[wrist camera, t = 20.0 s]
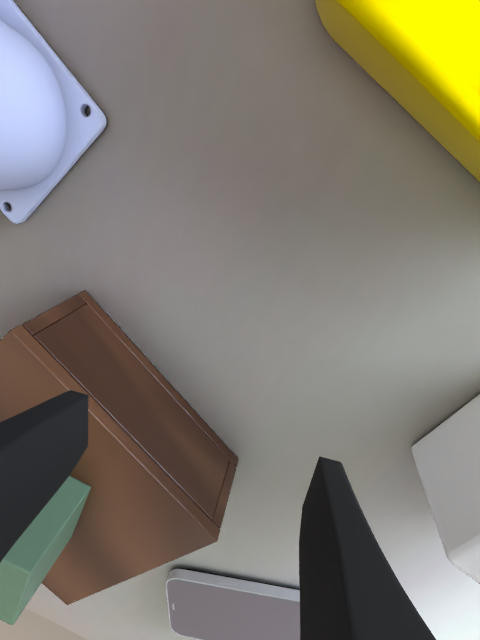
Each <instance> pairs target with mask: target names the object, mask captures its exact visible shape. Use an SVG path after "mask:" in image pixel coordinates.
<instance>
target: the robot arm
mask: <svg viewBox="0 0 480 640" xmlns="http://www.w3.org/2000/svg"><path fill="white" fill-rule="evenodd" d="M87 106H89V107H90V109H91V114H90V116H88V117H87V115H86V114H85V109H86V107H87ZM106 122H107V121H106V117H105V115H104V113H103V112H102V111H101V109H100V108H99V107H98V106H97V104H96V103H95V102H94V101H93V100H92V98H91V97H90V96H89V95H88V93H87V92H86V91H85V90H84V88H83V87H82V86H81V85H80V83H79V82H78V81H77V80H76V78H75V77H74V76H73V75H72V73H71V72H70V71H69V70H68V68H67V67H66V66H65V65H64V64H63V62H62V61H61V60H60V59H59V57H58V56H57V55H56V54H55V52H54V51H53V50H52V49H51V47H50V46H49V45H48V44H47V42H46V41H45V40H44V39H43V37H42V36H41V35H40V34H39V32H38V31H37V30H36V29H35V28H34V26H33V25H32V24H31V23H30V21H29V20H28V19H27V18H26V16H25V15H24V14H23V13H22V11H21V10H20V9H19V8H18V6H17V5H16V4H15V3H14V1H13V0H0V210H1V211H2V212H3V213H4V215H5V216H6V217H7V218H8V219H9V220H10V221H11V222H13V223H15V224H19V223H23V222H25V221H26V220H27V218H28V217H29V216H30V215H31V214H32V213H33V211H34V210H35V209H36V208H37V207H38V206H39V205H40V203H41V202H42V201H43V200H44V199H45V198H46V196H47V195H48V194H49V193H50V192H51V191H52V189H53V188H54V187H55V186H56V185H57V184H58V182H59V181H60V180H61V179H62V178H63V177H64V175H65V174H66V173H67V172H68V171H69V170H70V169H71V167H72V166H73V165H74V164H75V163H76V162H77V160H78V159H79V158H80V157H81V156H82V155H83V153H84V152H85V151H86V150H87V149H88V148H89V146H90V145H91V144H92V143H93V142H94V141H95V139H96V138H97V137H98V136H99V135H100V134H101V133H102V131H103V130H104V129H105V127H106ZM8 203H9V204H10V205H11V208H12V209H11V210H10V209H9V207H8ZM88 402H89V395H87V394H84V393H80V392H76V391H72V390H69V391H67V392H64V393H62V394H60V395H58V396H56V397H53V398H51V399H49V400H47V401H45V402H43V403H41V404H39V405H36V406H34V407H32V408H30V409H28V410H26V411H24V412H22V413H19V414H17V415H15V416H13V417H11V418H9V419H6V420H4V421H2V422H0V563H1V561H2V560H3V558H4V557H5V556H6V554H7V553H8V552H9V550H10V549H11V548H12V546H13V545H14V544H15V542H16V541H17V540H18V539H19V537H20V536H21V535H22V534H23V533H24V531H25V530H26V529H27V528H28V526H29V525H30V524H31V523H32V521H33V520H34V519H35V518H36V517H37V515H38V514H39V513H40V512H41V510H42V509H43V508H44V507H45V506H46V504H47V503H48V502H49V501H50V499H51V498H52V497H53V496H54V494H55V493H56V492H57V491H58V489H59V488H60V487H61V486H62V484H63V483H64V482H65V481H66V479H67V478H68V477H69V476H70V474H71V472H72V471H73V469H74V468H75V466H76V465H77V463H78V462H79V460H80V458H81V457H82V455H83V453H84V452H85V450H86V448H87V447H88ZM299 576H300V640H436V639H435V637H434V636H433V634H432V633H431V631H430V630H429V628H428V627H427V625H426V624H425V622H424V621H423V619H422V618H421V616H420V615H419V613H418V612H417V610H416V609H415V607H414V605H413V604H412V602H411V601H410V599H409V597H408V596H407V594H406V593H405V591H404V589H403V588H402V586H401V584H400V583H399V581H398V579H397V577H396V576H395V574H394V572H393V570H392V569H391V567H390V565H389V563H388V561H387V560H386V558H385V556H384V554H383V552H382V550H381V548H380V547H379V545H378V543H377V541H376V539H375V537H374V535H373V533H372V531H371V529H370V527H369V525H368V523H367V520H366V518H365V516H364V514H363V512H362V510H361V508H360V506H359V503H358V501H357V499H356V497H355V494H354V492H353V490H352V487H351V485H350V482H349V480H348V478H347V475H346V473H345V470H344V467H343V465H342V464H341V462H338V461H334V460H330V459H327V458H323V457H319V459H318V462H317V465H316V468H315V471H314V474H313V477H312V480H311V483H310V486H309V489H308V492H307V495H306V498H305V501H304V504H303V508H302V518H301V528H300V539H299Z"/></svg>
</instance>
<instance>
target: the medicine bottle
mask: <svg viewBox="0 0 480 640" xmlns="http://www.w3.org/2000/svg"><path fill="white" fill-rule="evenodd" d="M412 454H413V457H414V460H415V463H416V466H417V469H418V472H419V475H420V478H421V481H422V484H423V487H424V490H425V493H426V496H427V499H428V502H429V505H430V508H431V511H432V514H433V517H434V520H435V523H436V526H437V529H438V532H439V535H440V538H441V541H442V544H443V547H444V550H445V553H446V556H447V558H448V560H449V561H450V563H451V564H452V565H454V566H455V567H457V568H458V569H459V570H461V571H462V572H464V573H465V574H467V575H468V576H469V577H471V578H472V579H474V580H475V581H476V582H478V583H479V584H480V394H479V395H478V396H477V397H475V398H474V399H473V400H471V401H470V402H469V403H467V404H466V405H465V406H464V407H462V408H461V409H460V410H458V411H457V412H456V413H455V414H453V415H452V416H451V417H449V418H448V419H447V420H445V421H444V422H443V423H442V424H440V425H439V426H438V427H436V428H435V429H434V430H433V431H431V432H430V433H429V434H427V435H426V436H425V437H423V438H422V439H421V440H420V441H418V442H417V443H416V444H414V445H413V447H412Z"/></svg>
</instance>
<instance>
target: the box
mask: <svg viewBox="0 0 480 640" xmlns="http://www.w3.org/2000/svg"><path fill="white" fill-rule="evenodd" d="M22 326H23V327H24V328H25V329H26V330H27V331H28V332H29V333H30V334H31V335H32V336H33V337H34V338H35V339H36V340H37V341H38V343H39V344H40V345H41V346H42V347H43V348H44V349H45V350H46V351H47V352H48V353H49V354H50V355H51V356H52V357H53V358H54V359H55V360H56V361H57V362H58V363H59V364H60V365H61V366H62V367H63V368H64V369H65V370H66V371H67V372H68V373H69V374H70V376H71V377H72V378H73V379H74V380H75V381H76V382H77V383H78V384H79V385H80V386H81V387H82V388H83V389H84V390H85V391H86V392H87V393H88V394H89V395H90V396H91V397H92V398H93V399H94V400H95V401H96V402H97V403H98V404H99V405H100V406H101V407H102V408H103V410H104V411H105V412H106V413H107V414H108V415H109V416H110V417H111V418H112V419H113V420H114V421H115V422H116V423H117V424H118V425H119V426H120V427H121V428H122V429H123V430H124V431H125V432H126V433H127V434H128V435H129V436H130V437H131V438H132V439H133V440H134V441H135V443H136V444H137V445H138V446H139V447H140V448H141V449H142V450H143V451H144V452H145V453H146V454H147V455H148V456H149V457H150V458H151V459H152V460H153V461H154V462H155V463H156V464H157V465H158V466H159V467H160V468H161V469H162V470H163V471H164V472H165V473H166V474H167V476H168V477H169V478H170V479H171V480H172V481H173V482H174V483H175V484H176V485H177V486H178V487H179V488H180V489H181V490H182V491H183V492H184V493H185V494H186V495H187V496H188V497H189V498H190V499H191V500H192V501H193V502H194V503H195V504H196V505H197V506H198V507H199V509H200V510H201V511H202V512H203V513H204V514H205V515H206V516H207V517H208V518H209V519H210V520H211V521H212V522H213V523H214V524H215V525H216V526H217V527H218V528H219V529H220V528H221V524H222V521H223V517H224V513H225V509H226V505H227V502H228V498H229V494H230V490H231V486H232V483H233V479H234V475H235V471H236V467H237V464H238V458H237V457H236V456H235V455H234V454H233V453H232V452H231V451H230V449H229V448H228V447H227V446H226V445H225V444H224V443H223V442H222V441H221V440H220V438H219V437H218V436H217V435H216V434H215V433H214V432H213V431H212V430H211V429H210V427H209V426H208V425H207V424H206V423H205V422H204V421H203V420H202V419H201V417H200V416H199V415H198V414H197V413H196V412H195V411H194V410H193V409H192V408H191V406H190V405H189V404H188V403H187V402H186V401H185V400H184V399H183V398H182V397H181V395H180V394H179V393H178V392H177V391H176V390H175V389H174V388H173V387H172V386H171V384H170V383H169V382H168V381H167V380H166V379H165V378H164V377H163V376H162V375H161V373H160V372H159V371H158V370H157V369H156V368H155V367H154V366H153V365H152V364H151V362H150V361H149V360H148V359H147V358H146V357H145V356H144V355H143V354H142V353H141V351H140V350H139V349H138V348H137V347H136V346H135V345H134V344H133V343H132V342H131V340H130V339H129V338H128V337H127V336H126V335H125V334H124V333H123V332H122V331H121V329H120V328H119V327H118V326H117V325H116V324H115V323H114V322H113V321H112V319H111V318H110V317H109V316H108V315H107V314H106V313H105V312H104V311H103V310H102V308H101V307H100V306H99V305H98V304H97V303H96V302H95V301H94V300H93V299H92V297H91V296H90V295H89V294H88V293H87V292H86V291H83V292H81V293H79V294H78V295H75V296H74V297H72V298H70V299H68V300H66V301H64V302H62V303H61V304H59V305H57V306H55V307H53V308H51V309H49V310H48V311H46V312H44V313H42V314H40V315H38V316H36V317H35V318H33V319H31V320H29V321H27V322H25V323H23V324H22Z"/></svg>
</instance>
